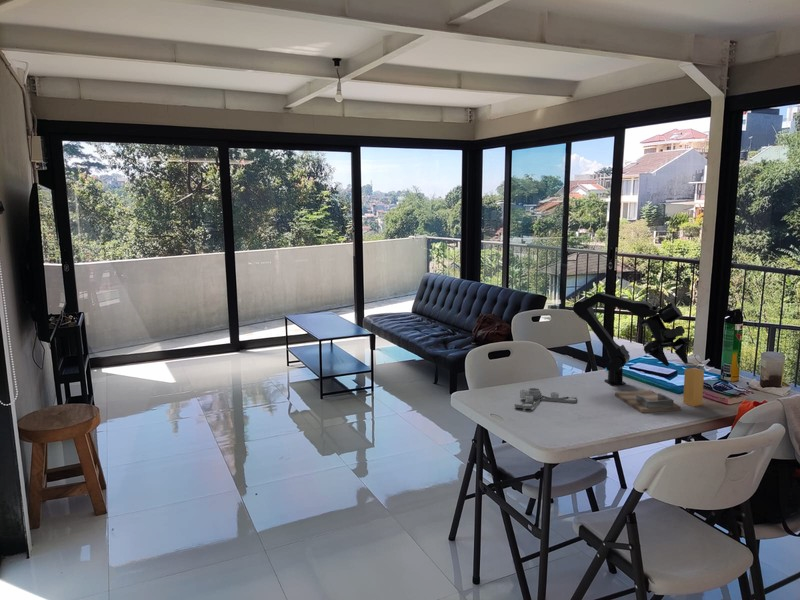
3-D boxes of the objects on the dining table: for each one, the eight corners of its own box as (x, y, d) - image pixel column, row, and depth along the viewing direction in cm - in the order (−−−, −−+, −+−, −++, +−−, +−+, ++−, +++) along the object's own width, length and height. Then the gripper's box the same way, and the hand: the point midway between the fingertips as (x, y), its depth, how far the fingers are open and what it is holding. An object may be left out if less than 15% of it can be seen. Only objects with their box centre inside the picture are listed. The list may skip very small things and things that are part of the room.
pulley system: (499, 402, 228) (521, 412, 214) (499, 390, 228) (521, 400, 214) (558, 395, 238) (582, 404, 224) (558, 383, 238) (583, 392, 224)
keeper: (614, 395, 230) (614, 386, 230) (650, 392, 232) (650, 383, 232) (641, 412, 211) (642, 402, 210) (680, 409, 213) (681, 399, 212)
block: (683, 402, 220) (684, 369, 218) (692, 401, 221) (694, 367, 219) (692, 406, 216) (694, 372, 214) (702, 404, 217) (704, 370, 215)
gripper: (652, 320, 222) (671, 356, 214) (689, 317, 229) (710, 351, 221) (635, 335, 231) (653, 370, 223) (671, 332, 238) (690, 366, 229)
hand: (677, 364), depth 224 cm, fingers open, 9 cm apart
